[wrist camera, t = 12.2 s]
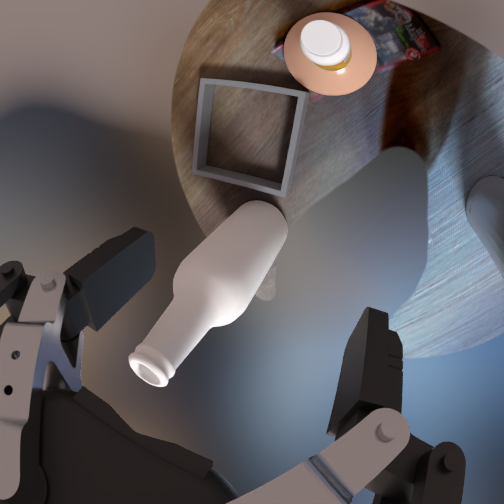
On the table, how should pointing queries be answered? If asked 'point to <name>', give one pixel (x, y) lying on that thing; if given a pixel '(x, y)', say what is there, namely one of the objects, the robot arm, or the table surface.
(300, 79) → the plate
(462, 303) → the table surface
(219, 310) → the alcohol
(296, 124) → the bin
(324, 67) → the supplement bottle
